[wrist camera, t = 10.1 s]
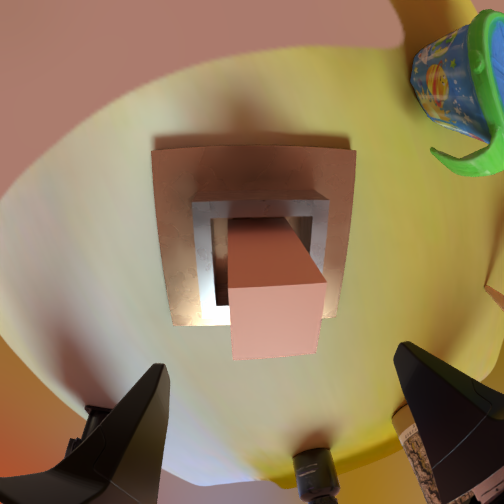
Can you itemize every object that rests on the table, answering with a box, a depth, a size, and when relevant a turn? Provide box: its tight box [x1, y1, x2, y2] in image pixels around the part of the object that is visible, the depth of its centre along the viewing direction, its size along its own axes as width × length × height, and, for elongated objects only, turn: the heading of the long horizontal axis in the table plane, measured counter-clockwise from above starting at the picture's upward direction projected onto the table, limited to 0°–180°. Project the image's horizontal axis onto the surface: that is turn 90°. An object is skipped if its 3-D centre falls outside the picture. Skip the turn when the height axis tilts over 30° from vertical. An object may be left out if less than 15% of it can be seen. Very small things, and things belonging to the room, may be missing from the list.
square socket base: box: [151, 145, 356, 326], centre depth 19 cm, size 14×14×4 cm
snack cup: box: [410, 9, 504, 177], centre depth 12 cm, size 16×10×10 cm
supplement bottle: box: [293, 448, 340, 504], centre depth 32 cm, size 7×7×12 cm
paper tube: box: [392, 404, 474, 504], centre depth 24 cm, size 7×7×25 cm
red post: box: [228, 218, 327, 360], centre depth 16 cm, size 4×4×9 cm
